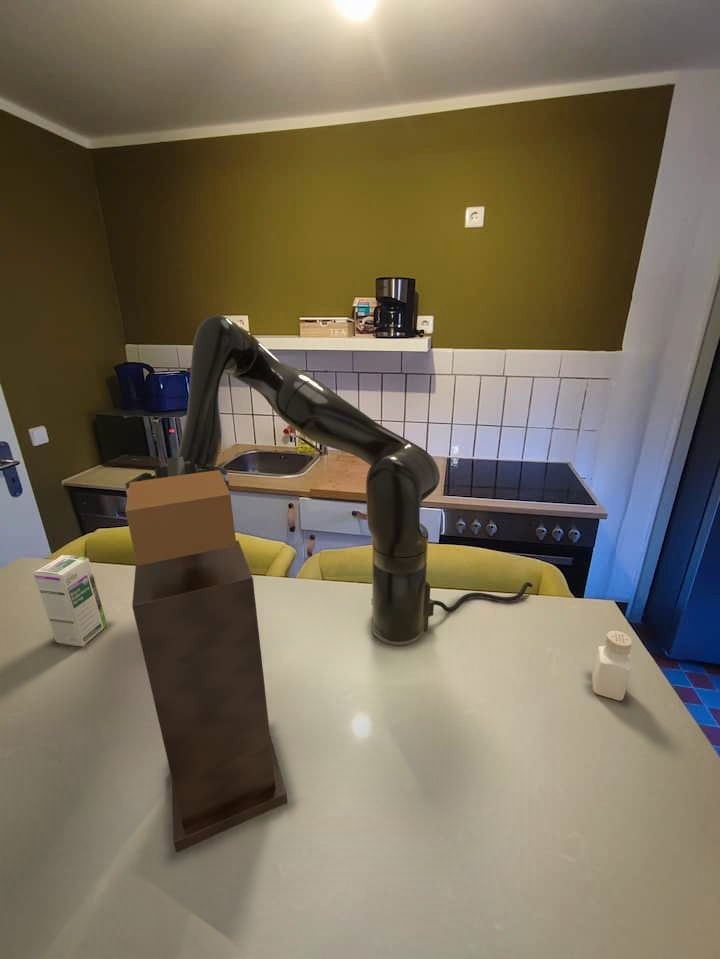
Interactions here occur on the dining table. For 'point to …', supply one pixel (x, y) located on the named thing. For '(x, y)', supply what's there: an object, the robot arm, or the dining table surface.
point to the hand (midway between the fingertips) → (176, 471)
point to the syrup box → (71, 599)
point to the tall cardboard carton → (179, 514)
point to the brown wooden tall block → (208, 690)
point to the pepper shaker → (612, 666)
